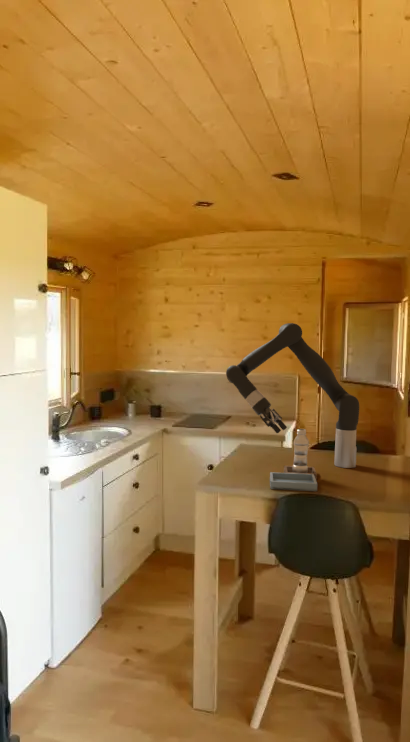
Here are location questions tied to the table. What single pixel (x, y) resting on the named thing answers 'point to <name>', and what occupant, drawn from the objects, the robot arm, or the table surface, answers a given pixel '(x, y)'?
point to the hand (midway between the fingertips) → (282, 430)
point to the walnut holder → (310, 471)
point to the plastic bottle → (300, 452)
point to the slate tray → (293, 481)
